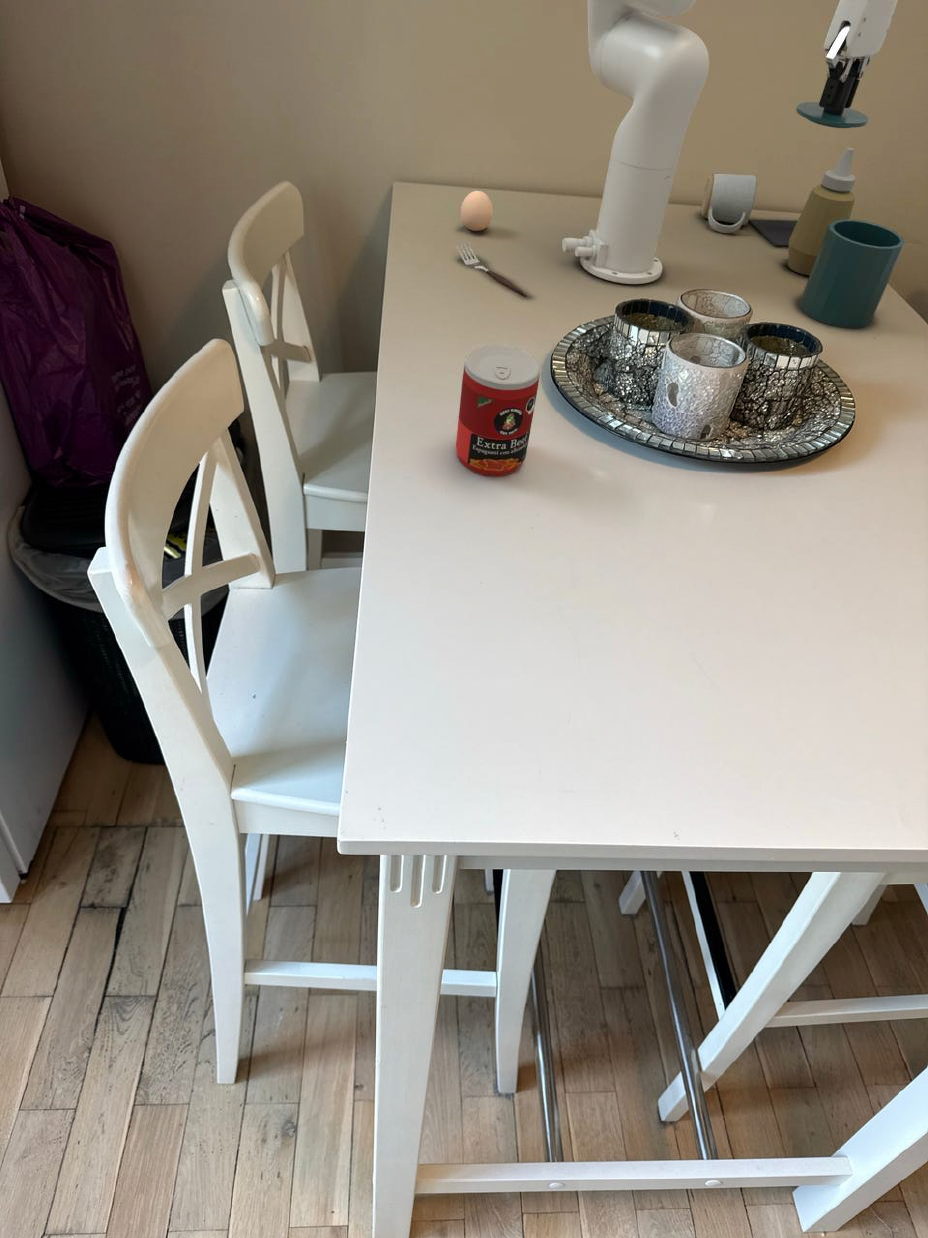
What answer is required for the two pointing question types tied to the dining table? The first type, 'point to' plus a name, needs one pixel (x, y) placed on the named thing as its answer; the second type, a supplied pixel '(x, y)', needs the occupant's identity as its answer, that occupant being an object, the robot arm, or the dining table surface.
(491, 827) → the dining table surface
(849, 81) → the tin lid
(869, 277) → the tin
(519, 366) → the canned food
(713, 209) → the ceramic mug
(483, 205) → the egg
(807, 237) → the squeeze bottle
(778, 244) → the mat
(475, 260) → the fork
